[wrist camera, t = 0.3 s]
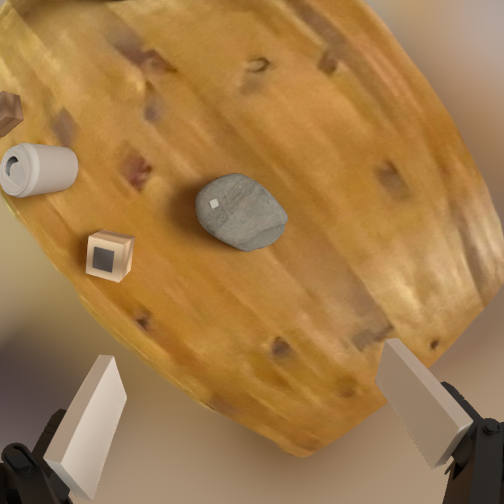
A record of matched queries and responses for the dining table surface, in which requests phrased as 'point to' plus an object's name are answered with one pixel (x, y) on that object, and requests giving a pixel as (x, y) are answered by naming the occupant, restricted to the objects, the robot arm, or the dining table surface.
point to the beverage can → (37, 169)
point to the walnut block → (9, 112)
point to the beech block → (109, 255)
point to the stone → (240, 212)
